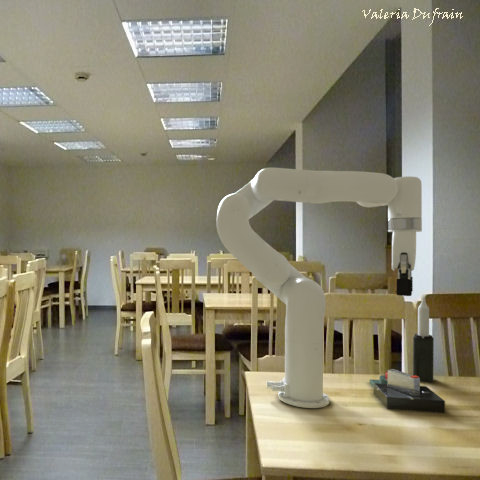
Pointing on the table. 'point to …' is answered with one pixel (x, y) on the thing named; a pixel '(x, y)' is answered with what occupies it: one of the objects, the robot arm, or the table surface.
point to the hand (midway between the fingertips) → (404, 293)
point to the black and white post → (423, 346)
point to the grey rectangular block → (404, 382)
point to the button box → (381, 380)
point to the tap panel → (409, 399)
